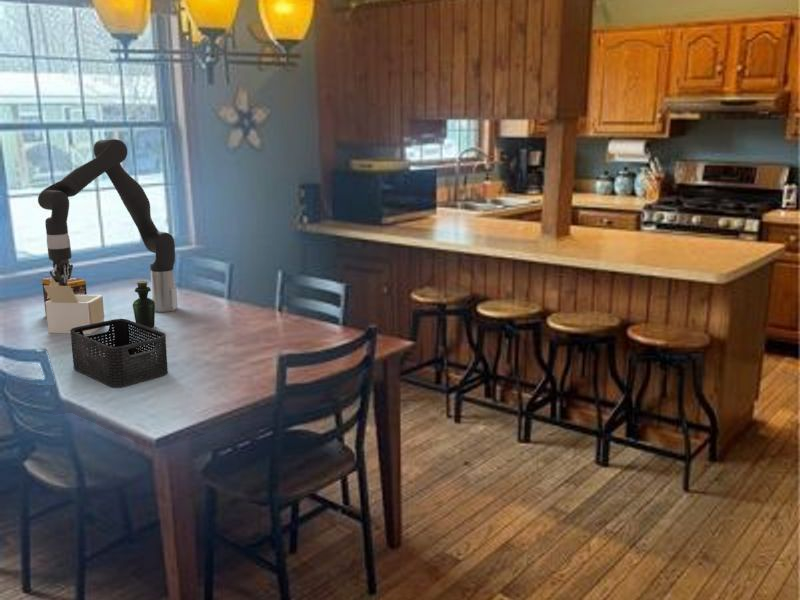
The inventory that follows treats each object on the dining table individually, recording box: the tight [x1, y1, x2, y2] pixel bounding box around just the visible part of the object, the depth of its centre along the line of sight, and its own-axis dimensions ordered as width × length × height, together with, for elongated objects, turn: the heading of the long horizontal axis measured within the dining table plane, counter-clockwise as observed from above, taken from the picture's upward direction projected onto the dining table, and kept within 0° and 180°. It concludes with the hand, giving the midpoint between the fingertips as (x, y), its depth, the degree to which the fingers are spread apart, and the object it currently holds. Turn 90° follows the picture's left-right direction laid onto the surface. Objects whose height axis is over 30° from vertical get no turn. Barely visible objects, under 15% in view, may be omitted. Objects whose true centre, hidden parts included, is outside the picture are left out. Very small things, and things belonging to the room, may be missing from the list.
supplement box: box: [41, 276, 88, 317], centre depth 288 cm, size 10×15×16 cm
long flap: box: [44, 285, 78, 303], centre depth 261 cm, size 10×9×1 cm
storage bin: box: [70, 318, 169, 388], centre depth 227 cm, size 29×19×13 cm
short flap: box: [47, 277, 58, 299], centre depth 269 cm, size 9×6×1 cm
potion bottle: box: [132, 280, 156, 329], centre depth 274 cm, size 8×8×18 cm
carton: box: [44, 294, 105, 335], centre depth 272 cm, size 17×13×12 cm
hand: (64, 292), depth 261 cm, fingers closed
